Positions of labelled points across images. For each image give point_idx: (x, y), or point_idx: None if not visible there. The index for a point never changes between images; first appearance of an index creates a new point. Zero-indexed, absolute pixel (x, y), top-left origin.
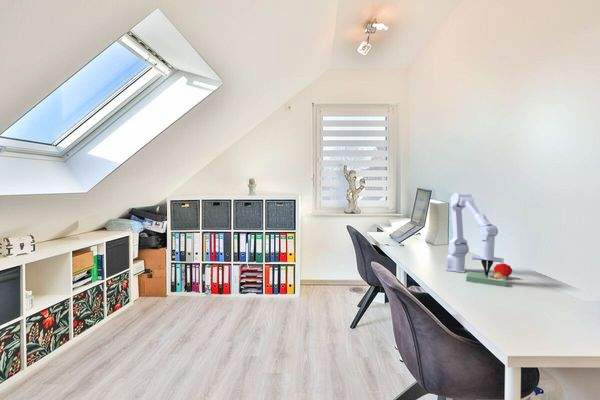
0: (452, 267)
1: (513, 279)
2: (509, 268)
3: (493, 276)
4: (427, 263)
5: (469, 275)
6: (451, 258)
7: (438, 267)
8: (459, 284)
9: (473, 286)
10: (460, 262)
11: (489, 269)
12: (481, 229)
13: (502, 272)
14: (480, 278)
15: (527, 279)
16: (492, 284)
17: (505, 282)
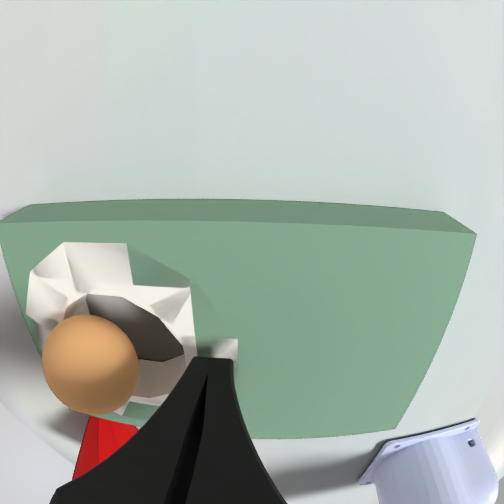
0: (456, 449)
1: (72, 418)
2: None
3: (128, 349)
4: (497, 450)
5: (432, 302)
6: (479, 495)
7: (486, 436)
8: (494, 53)
9: (369, 10)
10: (426, 496)
11: (147, 422)
12: None
13: (106, 456)
14: (300, 221)
15: (34, 424)
16: (143, 201)
17: (9, 219)
